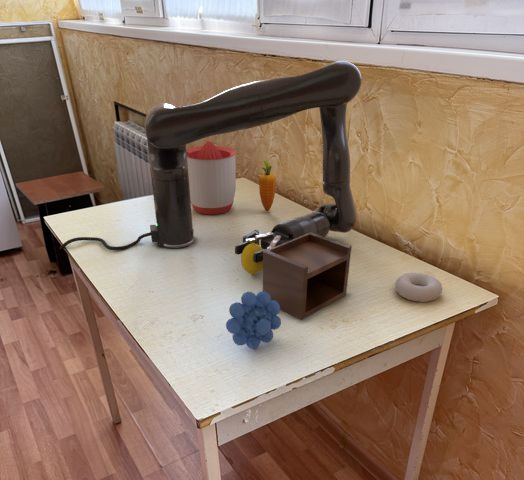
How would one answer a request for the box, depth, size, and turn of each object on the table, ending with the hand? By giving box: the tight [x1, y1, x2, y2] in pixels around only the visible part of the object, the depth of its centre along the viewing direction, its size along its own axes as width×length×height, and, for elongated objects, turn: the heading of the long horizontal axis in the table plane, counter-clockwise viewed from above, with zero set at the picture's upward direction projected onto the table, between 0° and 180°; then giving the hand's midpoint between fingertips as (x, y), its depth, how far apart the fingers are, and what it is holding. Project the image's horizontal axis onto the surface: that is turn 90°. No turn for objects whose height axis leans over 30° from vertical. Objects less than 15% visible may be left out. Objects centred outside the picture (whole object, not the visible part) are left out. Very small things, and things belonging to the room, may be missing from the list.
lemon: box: [240, 243, 263, 276], centre depth 115 cm, size 6×6×8 cm
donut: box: [394, 272, 443, 303], centre depth 109 cm, size 10×4×10 cm
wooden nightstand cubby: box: [262, 232, 352, 321], centre depth 104 cm, size 15×11×12 cm
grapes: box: [225, 290, 282, 350], centre depth 88 cm, size 12×7×12 cm, turn 125°
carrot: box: [258, 159, 277, 213], centre depth 148 cm, size 5×5×15 cm
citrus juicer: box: [186, 140, 237, 215], centre depth 148 cm, size 16×17×20 cm
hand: (245, 254), depth 112 cm, fingers closed on lemon, 5 cm apart
